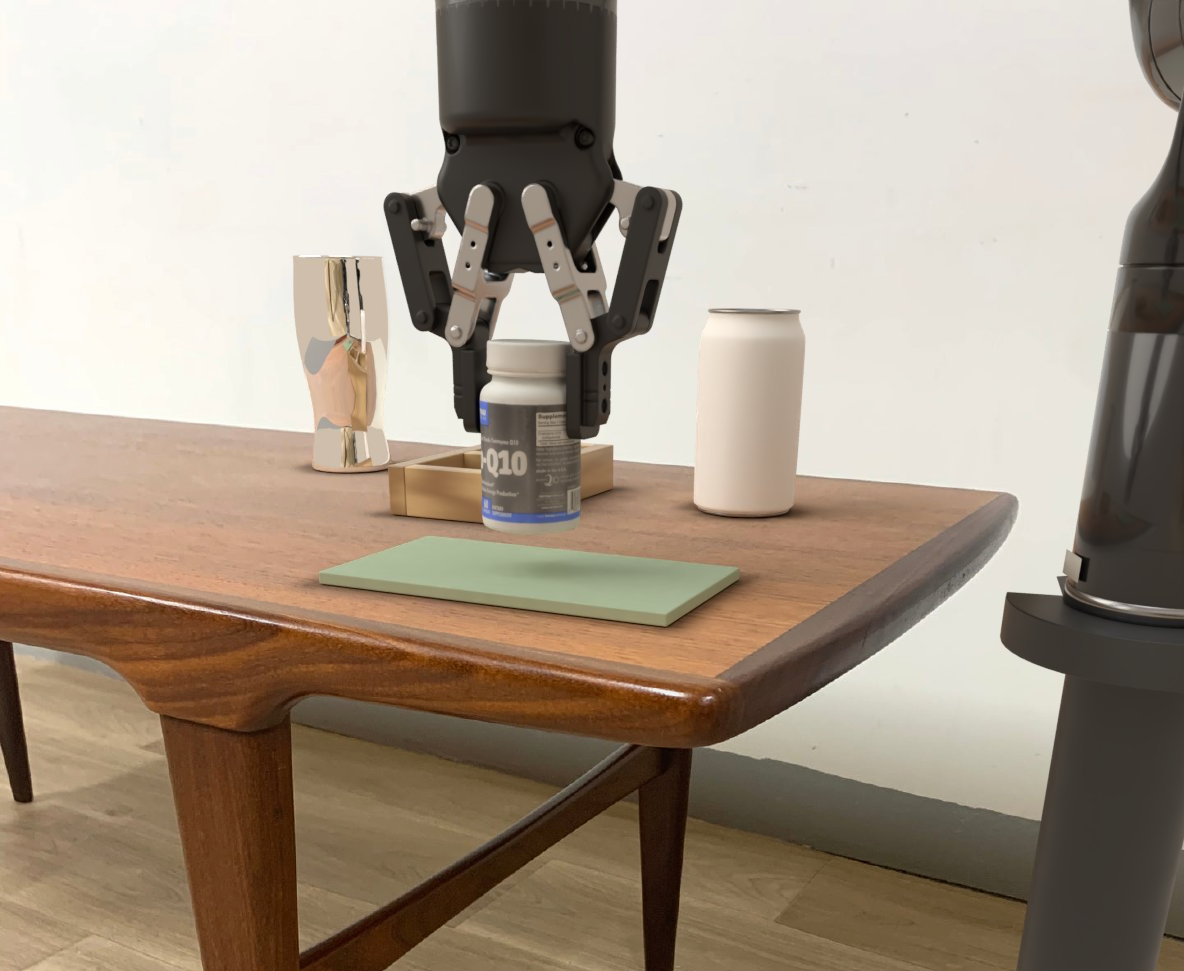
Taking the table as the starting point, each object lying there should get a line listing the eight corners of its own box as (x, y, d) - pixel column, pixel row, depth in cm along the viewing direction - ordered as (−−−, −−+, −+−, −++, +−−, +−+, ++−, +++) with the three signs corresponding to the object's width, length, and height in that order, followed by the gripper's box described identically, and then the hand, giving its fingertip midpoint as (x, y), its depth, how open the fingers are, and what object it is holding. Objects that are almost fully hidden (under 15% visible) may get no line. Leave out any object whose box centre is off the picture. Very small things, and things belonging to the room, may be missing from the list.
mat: (739, 579, 60) (740, 567, 60) (666, 627, 52) (667, 613, 52) (428, 546, 67) (427, 535, 67) (318, 583, 59) (318, 571, 59)
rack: (613, 488, 86) (613, 444, 85) (508, 526, 73) (508, 474, 72) (508, 480, 89) (507, 437, 88) (390, 514, 76) (387, 465, 75)
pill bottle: (463, 524, 59) (456, 339, 56) (539, 514, 62) (538, 337, 58) (522, 540, 56) (520, 344, 52) (601, 528, 58) (603, 341, 55)
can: (683, 515, 77) (691, 310, 72) (703, 498, 82) (711, 307, 78) (786, 521, 75) (801, 311, 70) (799, 503, 81) (813, 309, 76)
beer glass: (344, 458, 99) (330, 256, 93) (415, 464, 96) (405, 257, 90) (287, 469, 93) (268, 255, 87) (360, 476, 90) (346, 255, 84)
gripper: (720, 12, 51) (702, 435, 57) (426, 35, 56) (440, 419, 63) (653, -26, 44) (641, 454, 51) (329, 3, 50) (356, 434, 57)
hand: (530, 432), depth 57 cm, fingers closed on pill bottle, 4 cm apart
